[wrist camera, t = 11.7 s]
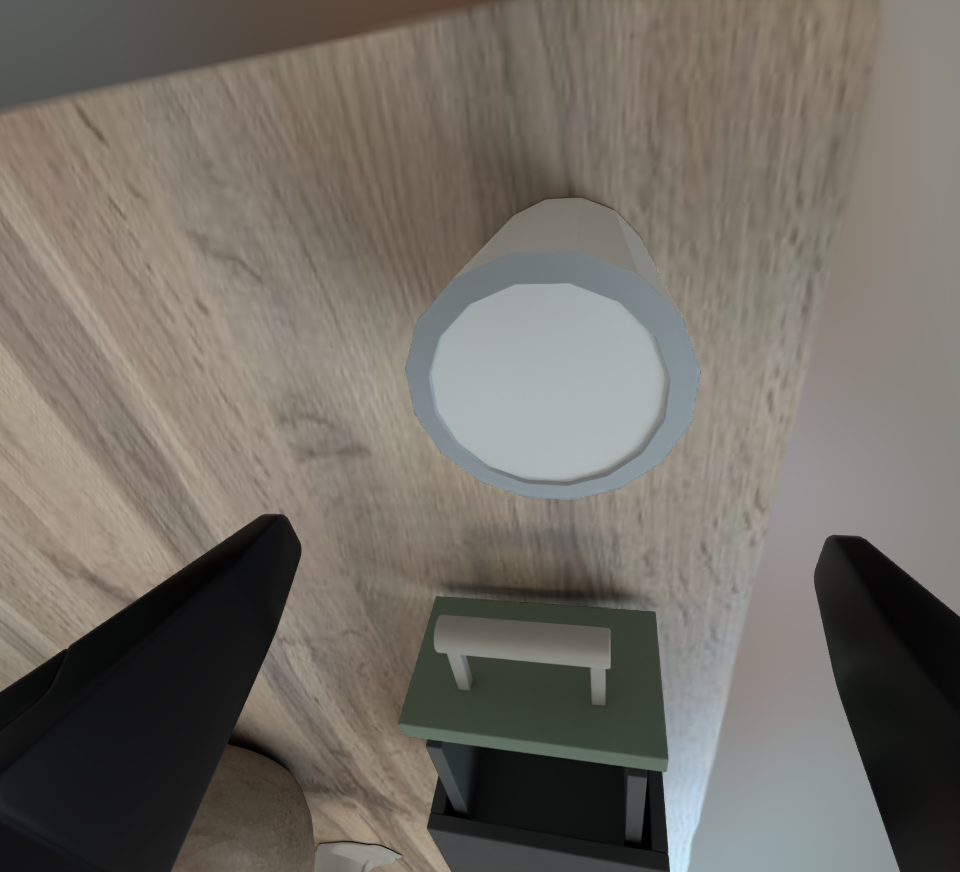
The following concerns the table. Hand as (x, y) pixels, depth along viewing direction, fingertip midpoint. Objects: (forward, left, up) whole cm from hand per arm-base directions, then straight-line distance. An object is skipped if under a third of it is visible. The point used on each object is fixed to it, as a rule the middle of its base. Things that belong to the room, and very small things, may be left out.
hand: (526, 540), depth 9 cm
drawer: (+2, +20, -11) cm, 23 cm away
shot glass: (0, 0, -12) cm, 12 cm away
